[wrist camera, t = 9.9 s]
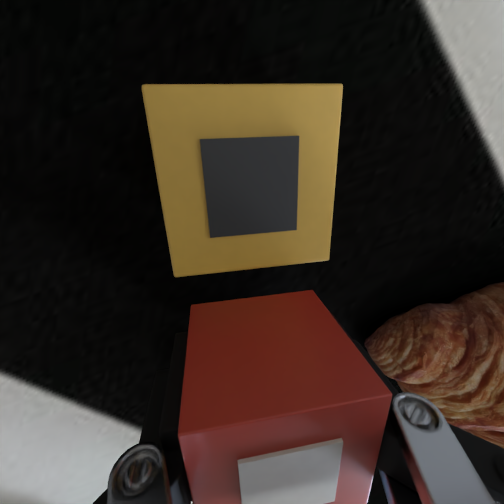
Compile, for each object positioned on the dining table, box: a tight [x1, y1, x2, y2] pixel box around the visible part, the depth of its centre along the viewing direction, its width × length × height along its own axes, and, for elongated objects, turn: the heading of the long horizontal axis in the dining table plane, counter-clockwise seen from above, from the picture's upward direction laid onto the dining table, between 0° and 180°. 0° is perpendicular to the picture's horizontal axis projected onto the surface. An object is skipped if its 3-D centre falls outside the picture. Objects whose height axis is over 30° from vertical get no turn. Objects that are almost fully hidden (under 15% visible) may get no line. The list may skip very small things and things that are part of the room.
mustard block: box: [142, 84, 343, 277], centre depth 9 cm, size 5×5×5 cm
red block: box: [178, 290, 392, 504], centre depth 9 cm, size 5×5×5 cm
